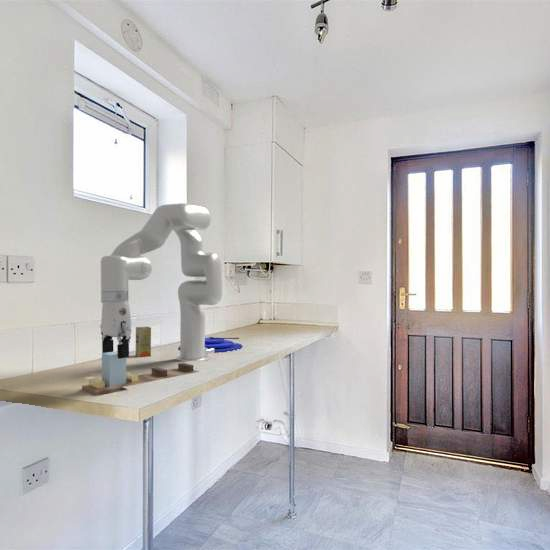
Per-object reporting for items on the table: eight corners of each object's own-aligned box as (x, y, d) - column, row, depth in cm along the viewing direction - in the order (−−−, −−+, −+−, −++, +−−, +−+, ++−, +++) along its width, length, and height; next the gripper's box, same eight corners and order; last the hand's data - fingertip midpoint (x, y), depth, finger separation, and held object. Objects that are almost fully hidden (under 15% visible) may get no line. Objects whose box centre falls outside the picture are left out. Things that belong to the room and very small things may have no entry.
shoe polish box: (138, 357, 164) (138, 328, 164) (135, 355, 168) (135, 327, 168) (150, 356, 166) (150, 327, 167) (147, 354, 171) (147, 326, 171)
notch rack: (182, 370, 139) (182, 361, 139) (199, 374, 132) (199, 365, 132) (82, 389, 114) (82, 378, 114) (97, 395, 107) (97, 384, 107)
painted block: (118, 380, 120) (118, 351, 120) (126, 383, 116) (126, 352, 116) (101, 384, 116) (101, 353, 116) (109, 386, 112) (109, 355, 113)
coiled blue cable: (167, 337, 189) (218, 331, 210) (166, 348, 189) (218, 342, 210) (202, 343, 168) (255, 337, 189) (202, 356, 168) (255, 348, 188)
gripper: (141, 297, 113) (142, 357, 113) (113, 296, 125) (114, 350, 125) (116, 299, 108) (116, 361, 108) (89, 297, 120) (90, 353, 120)
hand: (115, 355), depth 117 cm, fingers open, 9 cm apart
